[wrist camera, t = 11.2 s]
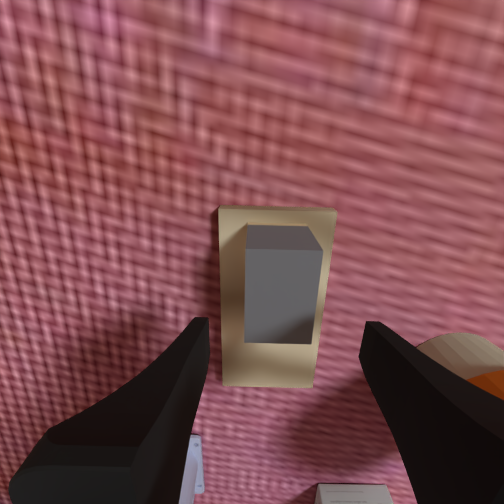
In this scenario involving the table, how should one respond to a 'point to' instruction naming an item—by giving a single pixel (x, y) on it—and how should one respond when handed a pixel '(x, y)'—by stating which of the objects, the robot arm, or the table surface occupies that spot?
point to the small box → (352, 494)
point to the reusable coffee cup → (469, 359)
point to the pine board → (233, 300)
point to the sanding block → (281, 283)
